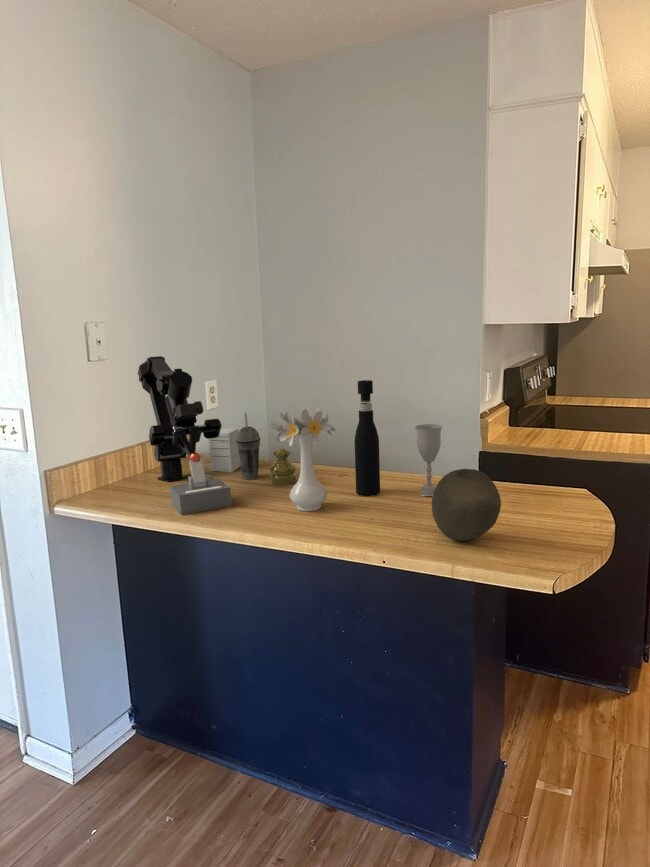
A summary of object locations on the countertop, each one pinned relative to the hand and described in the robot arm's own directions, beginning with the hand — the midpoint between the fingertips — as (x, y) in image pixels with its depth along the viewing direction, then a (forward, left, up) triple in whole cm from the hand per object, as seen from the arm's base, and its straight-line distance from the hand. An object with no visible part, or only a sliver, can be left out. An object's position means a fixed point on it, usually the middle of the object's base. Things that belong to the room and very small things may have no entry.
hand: (193, 457), depth 164 cm
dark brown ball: (+71, +15, -12) cm, 74 cm away
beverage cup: (-6, +24, -12) cm, 28 cm away
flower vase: (+28, +12, -12) cm, 33 cm away
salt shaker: (+6, +26, -12) cm, 30 cm away
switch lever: (+4, -2, -6) cm, 7 cm away
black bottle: (+33, +31, -12) cm, 47 cm away
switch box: (+4, -2, -12) cm, 13 cm away
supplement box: (-21, +27, -12) cm, 37 cm away
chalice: (+47, +39, -12) cm, 63 cm away
